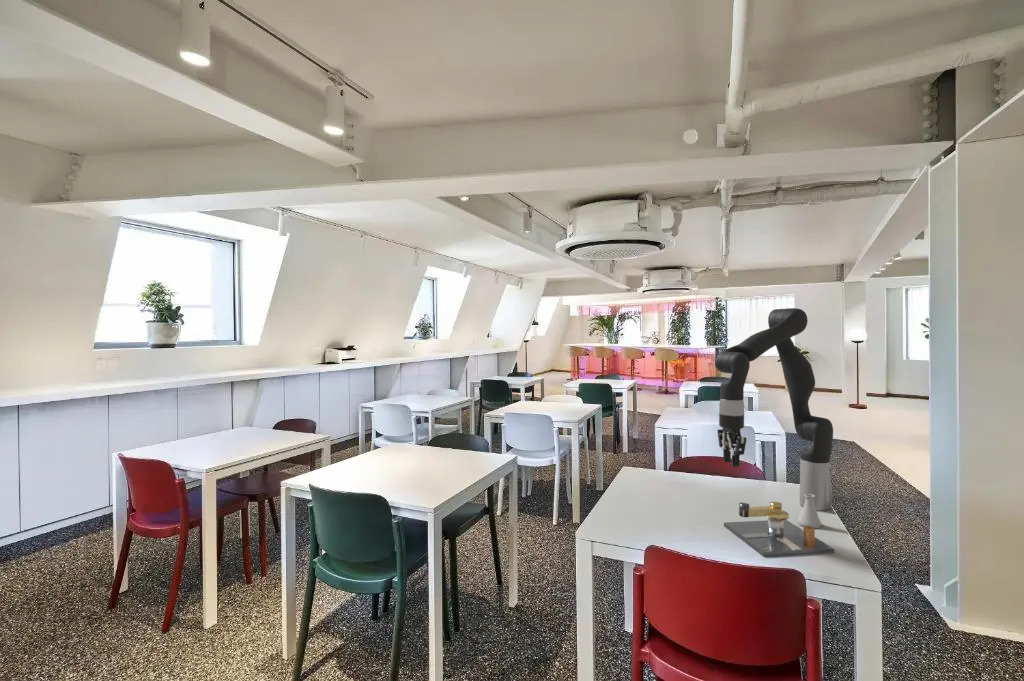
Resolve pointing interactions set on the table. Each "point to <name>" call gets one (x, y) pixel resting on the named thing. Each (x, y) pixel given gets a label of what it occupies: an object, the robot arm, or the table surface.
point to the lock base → (778, 538)
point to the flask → (809, 513)
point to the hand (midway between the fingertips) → (731, 463)
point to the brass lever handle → (763, 511)
